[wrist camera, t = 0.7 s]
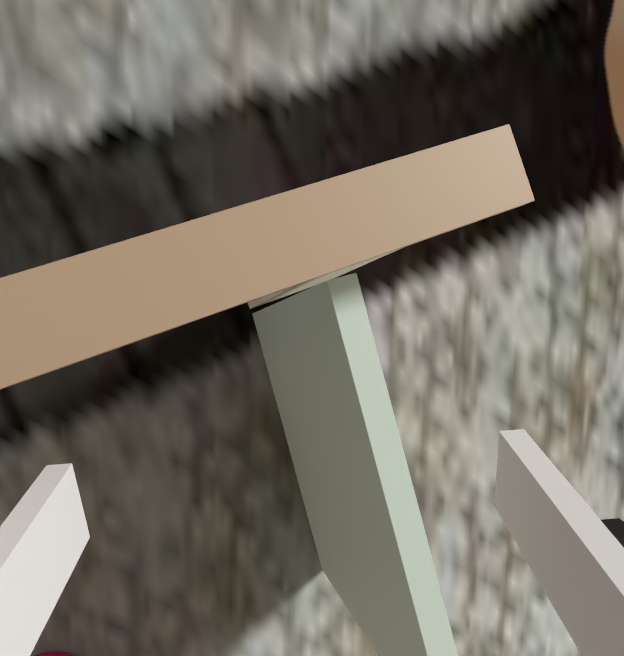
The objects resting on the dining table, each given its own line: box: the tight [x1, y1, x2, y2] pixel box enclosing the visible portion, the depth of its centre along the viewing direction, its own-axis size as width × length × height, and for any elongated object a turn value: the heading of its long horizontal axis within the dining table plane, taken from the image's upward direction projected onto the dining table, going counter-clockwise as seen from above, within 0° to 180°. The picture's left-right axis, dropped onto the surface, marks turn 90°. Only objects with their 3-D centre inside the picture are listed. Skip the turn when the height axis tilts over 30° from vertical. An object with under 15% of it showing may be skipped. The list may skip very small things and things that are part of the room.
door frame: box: [0, 124, 534, 389], centre depth 25 cm, size 3×34×25 cm, turn 111°
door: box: [252, 273, 458, 656], centre depth 30 cm, size 3×20×20 cm, turn 16°
